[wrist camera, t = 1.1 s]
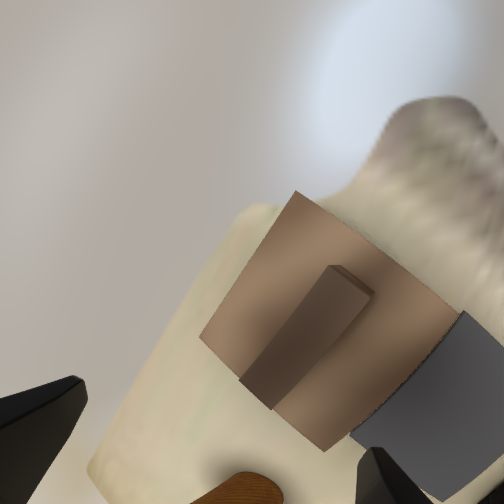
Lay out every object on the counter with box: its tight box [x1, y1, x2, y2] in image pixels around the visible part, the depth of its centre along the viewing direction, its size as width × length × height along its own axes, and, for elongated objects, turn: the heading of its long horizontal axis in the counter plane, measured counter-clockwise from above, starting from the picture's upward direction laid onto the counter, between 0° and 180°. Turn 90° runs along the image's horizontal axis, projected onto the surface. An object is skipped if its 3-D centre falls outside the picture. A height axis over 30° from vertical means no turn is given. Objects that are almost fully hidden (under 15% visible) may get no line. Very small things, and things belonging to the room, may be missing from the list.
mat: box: [349, 311, 504, 502], centre depth 16 cm, size 13×13×1 cm
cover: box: [199, 191, 459, 452], centre depth 16 cm, size 12×12×4 cm
